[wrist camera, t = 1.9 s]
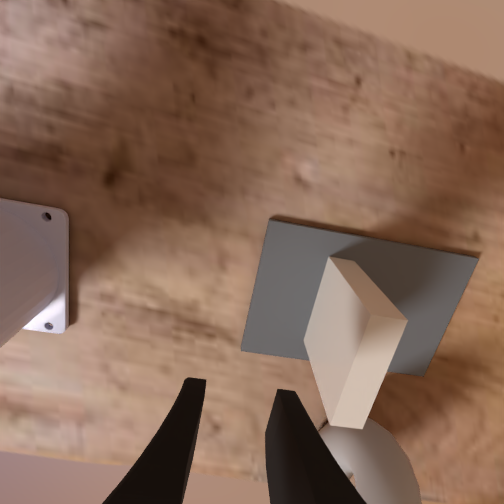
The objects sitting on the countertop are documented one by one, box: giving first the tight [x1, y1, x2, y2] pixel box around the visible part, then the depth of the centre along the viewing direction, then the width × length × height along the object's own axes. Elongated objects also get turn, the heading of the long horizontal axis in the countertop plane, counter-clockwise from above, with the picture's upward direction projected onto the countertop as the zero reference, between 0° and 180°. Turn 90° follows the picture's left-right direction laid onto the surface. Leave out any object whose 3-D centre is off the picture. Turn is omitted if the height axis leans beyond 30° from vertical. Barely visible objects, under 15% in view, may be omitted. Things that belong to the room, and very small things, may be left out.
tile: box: [304, 257, 408, 429], centre depth 17 cm, size 2×6×6 cm, turn 169°
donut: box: [318, 418, 422, 504], centre depth 20 cm, size 10×4×10 cm, turn 151°
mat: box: [241, 219, 479, 377], centre depth 20 cm, size 13×9×1 cm
